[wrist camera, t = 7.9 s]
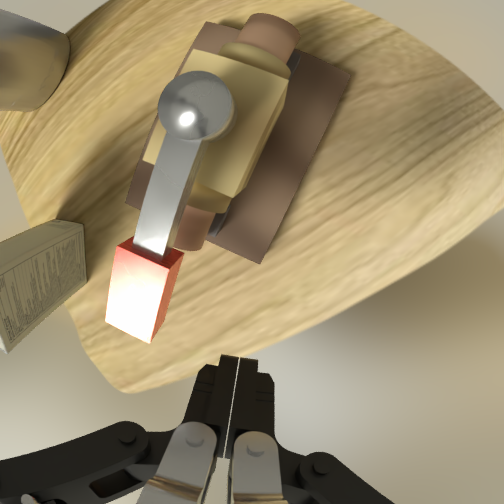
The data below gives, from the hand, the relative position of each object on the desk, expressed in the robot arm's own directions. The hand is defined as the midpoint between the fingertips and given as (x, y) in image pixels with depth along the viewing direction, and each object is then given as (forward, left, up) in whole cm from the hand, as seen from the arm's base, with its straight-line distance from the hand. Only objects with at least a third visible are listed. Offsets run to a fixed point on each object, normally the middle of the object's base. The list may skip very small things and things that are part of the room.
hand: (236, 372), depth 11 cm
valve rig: (-5, +9, -11) cm, 15 cm away
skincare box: (-16, -6, -12) cm, 21 cm away
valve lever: (-5, +4, -3) cm, 7 cm away
